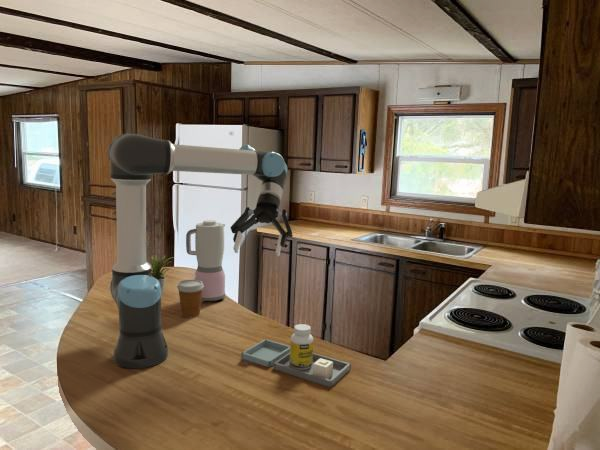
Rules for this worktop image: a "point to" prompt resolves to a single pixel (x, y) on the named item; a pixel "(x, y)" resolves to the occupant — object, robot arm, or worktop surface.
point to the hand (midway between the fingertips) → (256, 252)
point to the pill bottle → (301, 347)
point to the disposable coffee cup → (190, 297)
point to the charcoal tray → (338, 370)
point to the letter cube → (323, 368)
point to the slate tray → (265, 353)
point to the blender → (209, 258)
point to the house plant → (156, 270)
